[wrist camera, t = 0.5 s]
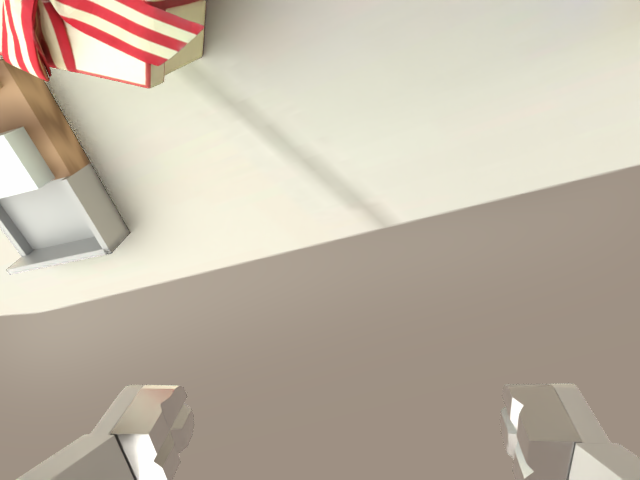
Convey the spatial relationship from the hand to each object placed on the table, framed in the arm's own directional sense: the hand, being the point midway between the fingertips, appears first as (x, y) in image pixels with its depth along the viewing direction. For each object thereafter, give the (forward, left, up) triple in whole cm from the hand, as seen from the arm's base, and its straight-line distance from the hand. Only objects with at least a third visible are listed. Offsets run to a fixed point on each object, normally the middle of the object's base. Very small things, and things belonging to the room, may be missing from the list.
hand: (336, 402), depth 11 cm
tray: (+6, -39, -39) cm, 56 cm away
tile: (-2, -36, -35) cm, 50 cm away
